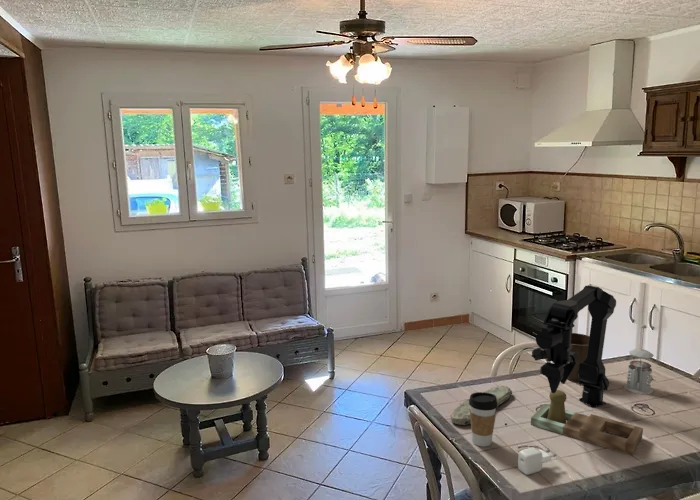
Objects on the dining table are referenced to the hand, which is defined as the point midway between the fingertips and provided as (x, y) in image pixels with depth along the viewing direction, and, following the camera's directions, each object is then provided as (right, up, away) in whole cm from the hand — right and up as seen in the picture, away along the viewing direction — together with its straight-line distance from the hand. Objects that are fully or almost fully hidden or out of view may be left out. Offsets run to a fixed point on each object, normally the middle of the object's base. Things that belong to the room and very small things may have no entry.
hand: (558, 388), depth 177 cm
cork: (0, -12, +2) cm, 12 cm away
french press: (+40, -8, +27) cm, 49 cm away
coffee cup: (-27, -14, -9) cm, 32 cm away
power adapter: (-15, -17, -23) cm, 32 cm away
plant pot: (+21, -6, +39) cm, 44 cm away
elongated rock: (-21, -11, +14) cm, 27 cm away
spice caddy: (+7, -13, -3) cm, 15 cm away
